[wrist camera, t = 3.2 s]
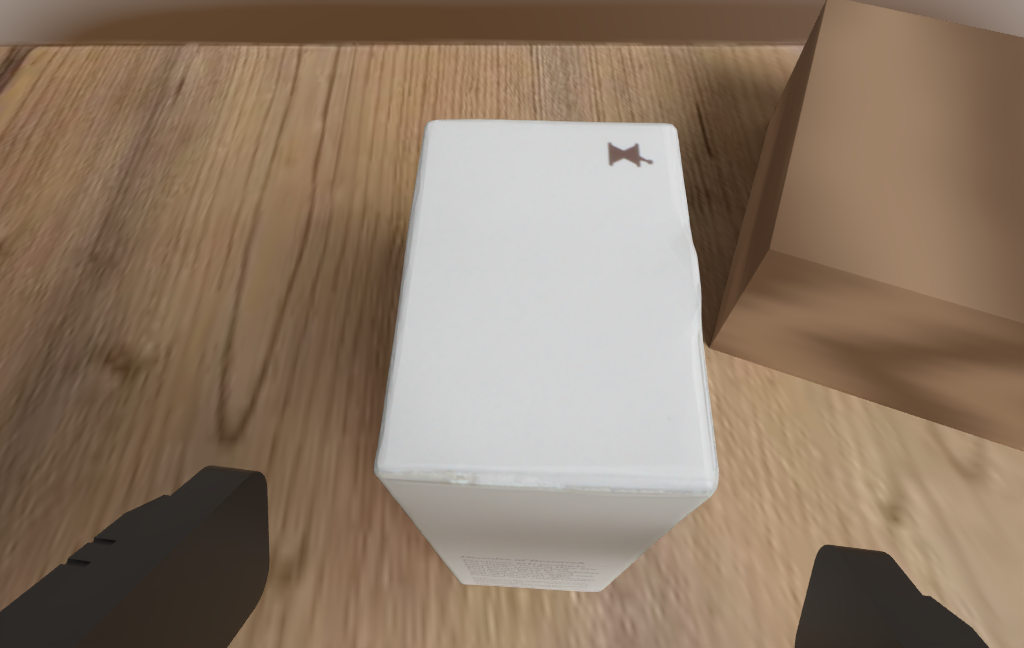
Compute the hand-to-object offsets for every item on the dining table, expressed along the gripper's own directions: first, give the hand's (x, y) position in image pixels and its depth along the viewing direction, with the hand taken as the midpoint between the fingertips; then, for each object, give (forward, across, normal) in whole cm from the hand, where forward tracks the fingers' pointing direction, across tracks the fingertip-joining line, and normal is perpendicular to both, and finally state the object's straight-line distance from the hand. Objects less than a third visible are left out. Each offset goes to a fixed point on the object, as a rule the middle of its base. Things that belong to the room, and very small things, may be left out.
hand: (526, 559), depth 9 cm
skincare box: (+9, 0, +4) cm, 10 cm away
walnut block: (+16, -13, -3) cm, 21 cm away
